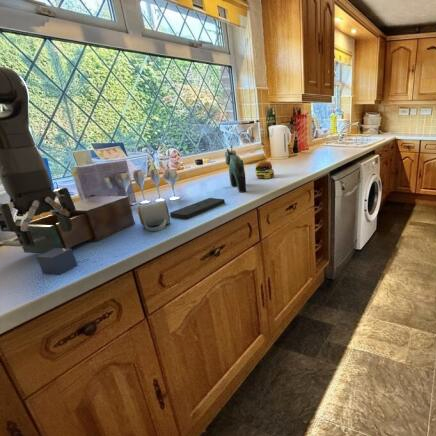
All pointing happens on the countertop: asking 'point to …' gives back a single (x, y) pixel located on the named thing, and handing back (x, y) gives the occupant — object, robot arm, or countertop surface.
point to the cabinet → (105, 214)
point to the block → (57, 261)
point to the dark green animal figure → (236, 170)
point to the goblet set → (138, 175)
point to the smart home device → (197, 208)
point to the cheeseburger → (264, 170)
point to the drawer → (55, 233)
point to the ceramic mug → (154, 215)
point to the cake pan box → (101, 180)
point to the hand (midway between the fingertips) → (49, 238)
